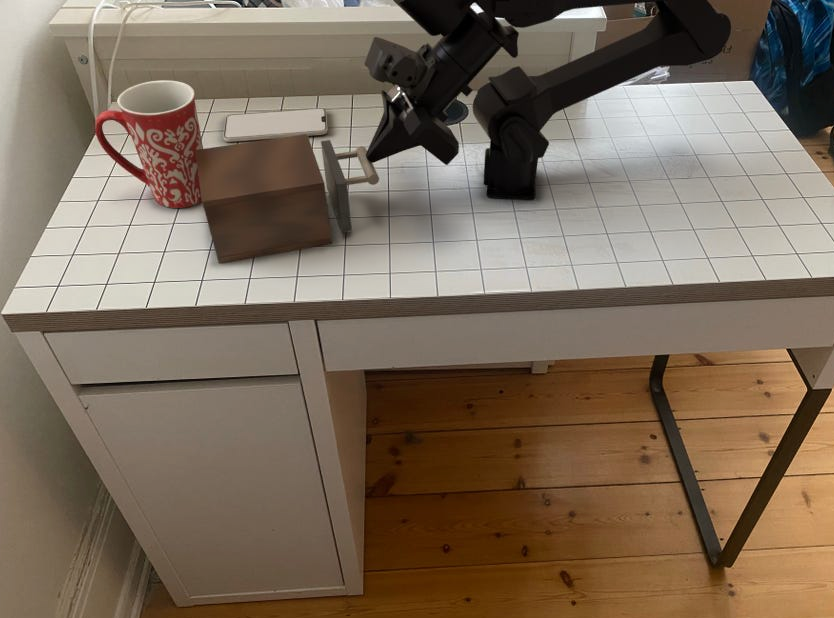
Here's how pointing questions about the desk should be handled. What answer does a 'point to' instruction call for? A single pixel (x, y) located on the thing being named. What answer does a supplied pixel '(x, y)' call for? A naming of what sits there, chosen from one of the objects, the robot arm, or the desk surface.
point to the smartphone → (275, 124)
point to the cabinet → (263, 197)
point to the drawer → (339, 183)
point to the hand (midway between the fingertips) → (368, 159)
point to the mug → (160, 139)
